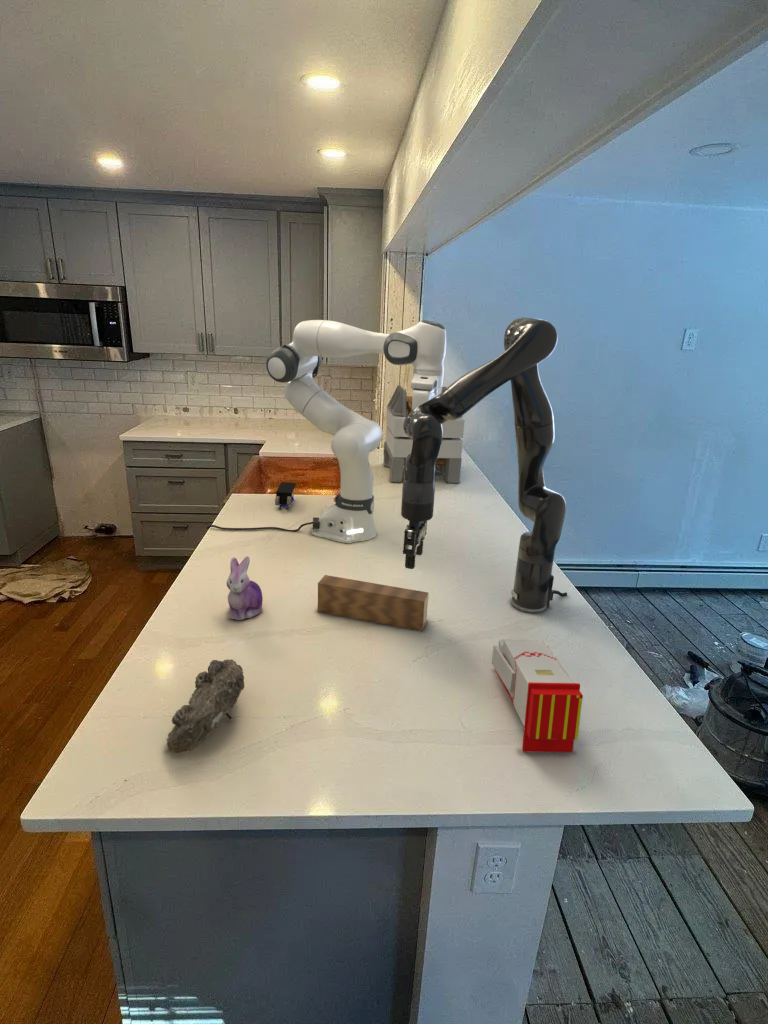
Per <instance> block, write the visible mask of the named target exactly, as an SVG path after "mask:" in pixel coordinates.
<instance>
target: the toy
mask: <svg viewBox="0 0 768 1024" xmlns="http://www.w3.org/2000/svg"><path fill="white" fill-rule="evenodd" d="M491 665H492V667H493V668H494V671H495V673H496V674H497V677H498V678H499V680H500V682H501V684H502V686H503V687H504V689H505V691H506V693H507V695H508V696H509V699H510V700H511V702H512V703H513V706H514V708H515V711H516V713H517V715H518V717H519V719H520V722H521V723H522V726H523V737H522V747H521V751H522V752H523V753H524V752H525V753H527V752H528V753H532V752H533V753H534V752H535V753H573V752H574V744H575V740H578V739H579V732H580V724H581V723H580V722H581V714H582V705H583V696H584V694H583V693H582V692H581V684H580V683H579V682H574V681H573V679H572V677H570V675H569V674H568V673H567V671H566V670H565V668H564V667H563V665H562V664H561V662H560V661H559V659H557V657H556V656H555V654H554V652H553V651H552V649H551V648H550V646H549V645H548V644H547V643H546V641H545V640H544V639H522V638H521V639H517V638H503V640H499V642H498V646H497V644H494V645H493V649H492V656H491Z"/></svg>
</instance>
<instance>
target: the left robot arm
mask: <svg viewBox="0 0 768 1024" xmlns="http://www.w3.org/2000/svg"><path fill="white" fill-rule="evenodd" d="M446 352H447V330H446V328H445V326H444V325H443V324H441V323H439V322H436V321H432V320H426V319H422V320H420V321H418V322H417V323H416V324H415V325H412V326H411V327H408V328H405V329H402V330H397V331H394V332H392V333H387V332H378V331H377V332H376V331H371V330H367V329H363V328H359V327H356V326H353V325H350V324H346V323H343V322H339V321H335V320H328V319H309V320H302V321H300V322H298V324H297V325H296V326H295V327H294V330H293V335H292V341H291V342H290V343H288V344H287V343H284V344H282V345H281V346H279V347H277V348H276V349H273V351H272V352H271V353H270V354H269V355H268V356H267V358H266V360H265V369H266V372H267V373H268V375H269V377H270V378H271V379H272V380H273V381H275V382H277V383H283V384H284V383H286V384H285V385H284V389H283V395H284V397H285V399H286V400H287V402H288V403H289V404H290V405H291V406H292V407H293V408H294V409H295V410H296V411H297V412H298V413H299V414H300V415H301V416H302V417H304V418H305V419H306V420H307V421H308V422H310V423H311V424H312V425H313V426H315V428H317V429H318V430H319V431H321V432H323V433H326V434H329V435H331V436H333V437H332V439H331V441H330V443H331V444H330V447H331V448H330V449H331V451H332V454H333V455H334V456H335V457H336V458H337V462H338V468H339V473H340V475H339V476H340V488H339V489H340V490H339V491H338V492H337V494H336V495H335V496H334V497H333V502H334V504H333V505H331V506H329V507H328V508H326V509H325V510H323V512H321V514H320V515H319V517H312V521H310V522H304V523H302V524H300V525H299V527H298V528H296V529H288V528H282V527H278V526H262V527H261V526H260V527H223V526H218V525H215V524H210V525H208V526H206V528H205V529H206V530H208V529H210V528H216V529H219V530H223V531H258V530H278V531H283V532H292V533H293V532H294V533H296V532H299V531H301V528H303V527H305V526H309V525H312V528H311V530H310V533H311V536H315V537H319V538H323V539H326V540H330V541H336V542H339V543H343V544H352V543H357V542H365V541H368V540H372V539H373V538H375V537H376V535H377V532H376V528H375V523H374V513H373V512H374V509H375V496H374V473H373V471H372V469H371V466H370V461H369V455H370V453H371V452H372V451H375V450H376V449H377V448H378V447H379V445H380V444H381V442H382V440H383V436H384V433H383V430H382V427H381V425H380V424H379V423H377V422H376V421H374V420H371V419H368V418H366V417H364V416H363V415H361V414H359V413H357V412H355V411H354V410H352V409H350V408H348V407H346V406H345V405H343V404H341V402H339V401H338V400H337V399H335V397H333V396H331V394H329V393H328V392H327V391H326V390H325V389H323V388H322V387H321V386H319V385H318V384H317V383H316V382H315V380H314V378H315V377H317V376H318V374H319V369H320V367H321V364H322V359H323V358H327V359H341V358H349V357H354V356H359V355H365V354H381V355H384V357H385V359H386V361H388V362H389V363H390V364H391V365H395V366H409V365H412V366H413V371H412V379H411V382H410V388H411V389H412V391H411V392H412V393H411V396H412V410H413V409H415V408H416V407H418V406H419V405H421V404H423V403H425V402H426V401H428V400H430V399H432V398H434V397H436V396H438V395H439V389H440V388H442V387H444V376H445V375H444V373H445V366H444V360H445V357H446V355H447V353H446Z"/></svg>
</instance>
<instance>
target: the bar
mask: <svg viewBox="0 0 768 1024" xmlns="http://www.w3.org/2000/svg"><path fill="white" fill-rule="evenodd" d="M428 605H429V592H427V591H421V590H415V589H410V588H405V587H398V586H392V585H387V584H381V583H375V582H369V581H363V580H358V579H357V580H356V579H352V578H344V577H341V576H340V577H339V576H333V575H328V574H324V575H323V577H321V579H320V580H319V581H318V582H317V612H318V613H323V614H329V615H332V616H333V615H334V616H338V617H344V618H350V619H355V620H360V621H365V622H371V623H377V624H381V625H386V626H387V625H388V626H391V627H398V628H402V629H409V630H413V631H419V632H423V630H424V628H425V626H426V624H427V619H428Z"/></svg>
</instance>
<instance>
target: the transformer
mask: <svg viewBox="0 0 768 1024" xmlns="http://www.w3.org/2000/svg"><path fill="white" fill-rule="evenodd" d="M447 387H448V386H442V387H441V392H440V394H441V393H442V392H443V391H444V390H445V389H446V388H447ZM407 394H408V393H407V390H406V389H404V388H403V387H402V385H399V384H398V385H397V386H396V388H395V390H394V392H393V394H392V395H391V398H390V400H389V402H388V404H387V405H386V413H385V414H386V415H385V423H386V428H385V438H384V442H383V466H384V467H388V468H389V475H388V476H389V477H388V478H389V480H390V482H391V483H402V482H403V475H404V469H405V460H406V457H407V456H408V455H409V454H410V453H411V451H412V444H413V440H411V439H410V438H409V437H407V435H406V434H405V432H404V430H403V423H404V420H405V418H406V417H407V415H408V414H409V413H410V412H411V411H412V395H407ZM442 428H443V438H442V443H441V447H440V450H439V454H438V457H437V460H436V464H435V467H436V468H437V470H438V469H439V473H440V474H441V475H443V478H444V479H445V481H446V482H447V483H449V484H455V483H456V484H459V483H461V472H462V461H463V460H462V453H463V442H464V441H463V440H462V439H463V438H464V431H465V430H464V429H465V419H464V418H463V416H461V417H460V418H458V419H456V420H448V421H446V422H444V423H443V424H442Z"/></svg>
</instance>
